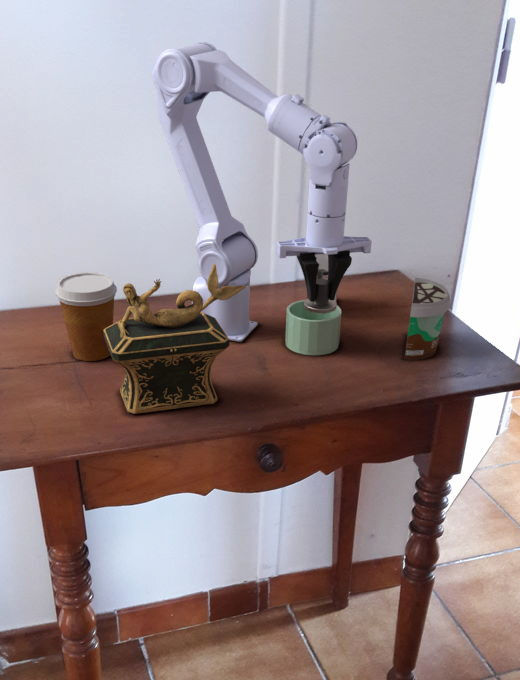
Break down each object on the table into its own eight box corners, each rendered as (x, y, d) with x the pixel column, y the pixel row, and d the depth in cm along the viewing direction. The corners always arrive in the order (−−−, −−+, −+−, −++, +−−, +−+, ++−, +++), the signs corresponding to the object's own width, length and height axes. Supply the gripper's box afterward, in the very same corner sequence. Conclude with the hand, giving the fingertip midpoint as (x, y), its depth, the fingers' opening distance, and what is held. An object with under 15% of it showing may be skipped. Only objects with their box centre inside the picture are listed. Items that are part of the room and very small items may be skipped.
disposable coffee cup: (51, 353, 139) (41, 282, 132) (97, 335, 145) (90, 266, 138) (87, 371, 134) (79, 298, 127) (133, 352, 140) (128, 282, 133)
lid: (299, 310, 135) (300, 284, 133) (309, 298, 139) (311, 273, 137) (330, 315, 134) (332, 290, 131) (340, 303, 137) (342, 278, 135)
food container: (442, 367, 137) (451, 308, 131) (404, 363, 138) (411, 304, 132) (443, 335, 147) (452, 279, 141) (407, 332, 148) (415, 276, 142)
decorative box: (118, 420, 122) (107, 288, 110) (107, 389, 129) (96, 262, 118) (252, 402, 127) (255, 274, 115) (234, 373, 134) (235, 250, 123)
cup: (277, 349, 141) (278, 315, 138) (295, 329, 148) (296, 296, 145) (329, 359, 139) (332, 324, 135) (345, 337, 146) (348, 304, 142)
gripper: (286, 222, 123) (282, 311, 131) (381, 218, 126) (372, 305, 134) (274, 208, 129) (271, 294, 137) (366, 203, 131) (358, 288, 139)
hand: (320, 298), depth 135 cm, fingers closed on lid, 2 cm apart
